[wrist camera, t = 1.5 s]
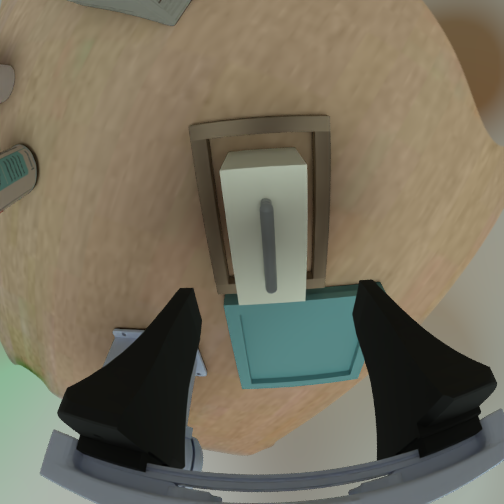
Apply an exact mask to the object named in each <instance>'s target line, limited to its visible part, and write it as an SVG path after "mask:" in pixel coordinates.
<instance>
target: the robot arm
mask: <svg viewBox="0 0 504 504" xmlns="http://www.w3.org/2000/svg"><path fill="white" fill-rule="evenodd" d="M352 316H353V321H354V326H355V331H356V335H357V338H358V341H359V345H360V348H361V351H362V354H363V357H364V360H365V363H366V367H367V370H368V373H369V377H370V381H371V387H372V393H373V399H374V407H375V416H376V428H377V461H374V462H369V463H365V464H360V465H354V466H349V467H343V468H337V469H330V470H323V471H314V472H305V473H291V474H269V475H245V474H223V473H210V472H201V471H202V466H203V452H202V448H201V446H200V444H199V441H198V440H197V439H196V438H195V437H192V431H193V428H191V427H188V426H187V423H188V417H189V411H190V404H191V398H192V392H193V386H194V380H195V376H206V375H207V370H206V368H205V365H204V362H203V360H202V357H201V354H200V352H199V349H198V346H199V342H200V334H201V325H202V319H201V315H200V312H199V308H198V304H197V301H196V297H195V293H194V289H193V288H180V289H179V290H178V291H177V292H176V293H175V295H174V296H173V297H172V298H171V300H170V301H169V302H168V304H167V305H166V306H165V307H164V309H163V310H162V311H161V312H160V313H159V315H158V316H157V317H156V318H155V319H154V321H153V322H152V323H151V324H150V325H149V326H148V327H147V328H146V330H130V329H114V330H113V334H114V336H115V339H114V341H113V344H112V346H111V348H110V351H109V353H108V355H107V358H106V360H105V362H104V365H103V367H102V368H101V369H100V370H98V371H97V372H95V373H93V374H92V375H90V376H89V377H87V378H85V379H83V380H82V381H80V382H78V383H76V384H74V385H72V386H70V387H68V388H67V390H66V392H65V394H64V397H63V399H62V402H61V404H60V407H59V409H58V412H57V413H58V416H59V418H60V419H61V420H62V421H63V422H64V423H66V424H67V425H68V426H69V427H71V428H72V429H73V430H75V431H76V432H78V433H79V434H80V438H79V440H78V439H76V438H74V437H72V436H69V435H67V434H64V433H61V432H59V431H57V430H53V432H52V435H51V438H50V441H49V444H48V447H47V451H46V454H45V457H44V460H43V464H42V468H41V471H40V474H41V476H43V477H45V478H46V479H48V480H50V481H52V482H54V483H56V484H57V485H59V486H61V487H63V488H65V489H67V490H69V491H71V492H73V493H75V494H77V495H79V496H81V497H83V498H85V499H88V500H90V501H92V502H94V503H97V504H429V503H431V502H433V501H436V500H438V499H440V498H442V497H444V496H446V495H448V494H450V493H452V492H454V491H455V490H457V489H459V488H461V487H463V486H464V485H466V484H468V483H469V482H471V481H473V480H475V479H476V478H478V477H479V476H481V475H483V474H484V473H486V472H487V471H489V470H491V469H492V468H494V467H495V466H497V465H498V464H500V463H501V462H502V461H504V413H503V410H502V409H499V410H497V411H495V412H493V413H491V414H489V415H487V416H486V417H484V418H482V419H481V420H479V417H478V415H479V414H480V413H481V410H480V407H479V406H480V405H481V404H482V403H483V402H484V401H485V400H486V399H487V398H488V397H489V396H490V395H491V394H492V393H493V391H494V390H495V388H496V386H497V382H496V380H495V378H494V375H493V373H492V371H491V369H490V367H488V366H486V365H483V364H481V363H479V362H476V361H475V360H472V359H470V358H468V357H466V356H465V355H463V354H461V353H459V352H457V351H455V350H454V349H452V348H450V347H449V346H447V345H446V344H444V343H443V342H441V341H440V340H438V339H437V338H436V337H434V336H433V335H432V334H430V333H429V332H427V331H426V330H425V329H424V328H423V327H421V326H420V325H419V324H418V323H417V322H416V321H414V320H413V319H412V318H411V317H410V316H409V315H408V314H407V313H406V312H405V311H403V310H402V309H401V308H400V307H399V306H398V305H397V304H396V303H395V302H394V301H393V300H392V299H391V298H390V297H389V296H388V295H387V294H386V293H385V292H384V291H383V290H382V289H381V288H380V287H379V286H378V285H377V284H376V283H375V282H374V281H373V280H360V281H359V285H358V290H357V295H356V299H355V304H354V308H353V312H352ZM388 474H389V475H388ZM385 475H388V476H385ZM380 476H385V477H382V478H379V479H375V480H372V481H369V482H365V483H362V484H361V485H360V486H359V487H357V488H354V489H351V490H349V492H348V493H349V495H347V496H341V497H335V498H327V499H319V500H309V501H298V502H285V503H224V502H222V498H221V497H217V496H213V495H211V494H210V493H209V492H204V491H199V490H193V489H192V488H201V489H210V490H222V491H240V492H278V491H296V490H307V489H317V488H325V487H332V486H338V485H344V484H349V483H354V482H359V481H364V480H369V479H373V478H377V477H380Z"/></svg>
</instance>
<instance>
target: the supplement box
mask: <svg viewBox="0 0 504 504" xmlns="http://www.w3.org/2000/svg"><path fill="white" fill-rule="evenodd" d="M67 1H71V2H74V3H77V4H80V5H84V6H89V7H95V8H101V9H106V10H111V11H116V12H121V13H125V14H129V15H133V16H137V17H141V18H145V19H149V20H152V21H156V22H159V23H162V24H166V25H169V26H173V25H175V24H176V22H177V21H178V19H179V18H180V16H181V15H182V13H183V12H184V10H185V9H186V7H187V6H188V4H189V3H190V2H191V0H67Z"/></svg>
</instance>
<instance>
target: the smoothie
mask: <svg viewBox="0 0 504 504" xmlns="http://www.w3.org/2000/svg"><path fill="white" fill-rule="evenodd" d="M14 80H15V74H14V70H13V68H12V67H11V66H10V65H0V103H2V102H4V101H6V100H7V99H8V97H9V96H10V94H11V92H12V89H13V86H14Z"/></svg>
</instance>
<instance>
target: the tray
mask: <svg viewBox="0 0 504 504" xmlns="http://www.w3.org/2000/svg"><path fill="white" fill-rule="evenodd" d="M375 283H376V284H377V285H378V286H379V287H380V288H381V289H382V290H383V291H384V292H385V290H384V288H383V286H382V284H381V283H380V282H375ZM358 285H359V284H355V285H345V286H333V287H325V288H315V289H306V298H305V301H300V302H286V303H270V304H253V305H239V302H238V296H237V294H225V299H224V309H225V314H226V319H227V324H228V328H229V333H230V338H231V342H232V347H233V351H234V356H235V360H236V364H237V369H238V373H239V377H240V381H241V386H242V389H259V388H279V387H293V386H304V385H314V384H323V383H331V382H339V381H345V380H352V379H358V376H359V374H360V371H361V368H362V366H363V363H364V357H363V354H362V351H361V348H360V345H359V341H358V338H357V335H356V331H355V326H354V321H353V316H352V312H353V308H354V304H355V299H356V295H357V290H358ZM385 293H386V292H385Z"/></svg>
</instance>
